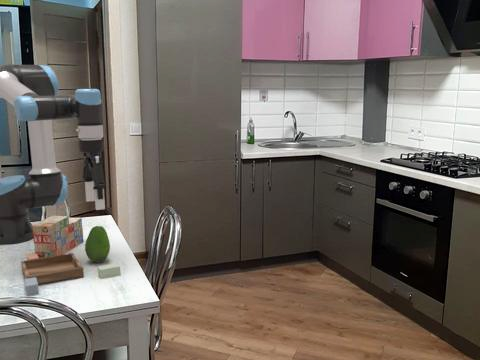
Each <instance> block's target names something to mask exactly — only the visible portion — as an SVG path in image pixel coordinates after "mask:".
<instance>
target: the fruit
mask: <svg viewBox="0 0 480 360" xmlns="http://www.w3.org/2000/svg"><path fill="white" fill-rule="evenodd" d="M85 240H86V241H85V244H84V247H85V248H84V251H85V253H86V256H87V257H88V259H89V260H90V261H91V262H93V263H98V264H99V263H101V262H103V261H105V260H106V259H107V258H108V256H109V254H110V250H111V245H110V244H111V243H110V239H109V236H108V233H107V229H105V227H104V226H101V225H96V226H94V227H92V228H91V229H90V230H89V233H88V235H87V238H86V239H85Z"/></svg>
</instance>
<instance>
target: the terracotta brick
mask: <svg viewBox="0 0 480 360" xmlns="http://www.w3.org/2000/svg"><path fill="white" fill-rule="evenodd" d="M25 255H26V260H32V259H38V258H39V257H38V255H37V253H35V252H33V253H32V252H31V253H26V254H25Z"/></svg>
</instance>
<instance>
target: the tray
mask: <svg viewBox="0 0 480 360" xmlns="http://www.w3.org/2000/svg"><path fill="white" fill-rule="evenodd" d="M20 263H21V272H22V276H23V278H24V280H25V279H28V278H34V277H36V279H37V283H38V287H39V286H43V285H45V286H46V285H48V284H56V283H60V282H66V281H70V280H71V281H72V280H76V279H82V278H84V277H85V275H84V266H82V264H81V263H80V261H79V260H78V258H77V256H76V255H75V254H74V253H73V252H71V253H70V252H69V253H65V254H63V255H57V256H51V257H45V258H38V259H32V260H27V259H26V260H21V261H20Z"/></svg>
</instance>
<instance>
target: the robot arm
mask: <svg viewBox="0 0 480 360" xmlns="http://www.w3.org/2000/svg"><path fill="white" fill-rule="evenodd" d="M74 92H75V94H69V95H58V93H59V82H58V78H57V75H56V73H55V71H54V70H53V68H52V67H50V66H49V65H41V64H12V63H11V64H4V65H0V99H2V100H3V99H4V100H6V101H7V102H8V103H9V104H10V105H12V107H13V112H14V115H15V117H16V119H17V120H18V121H20V122H21V121H22V122H27V127H28V128H27V129H28V138H29V146H30V147H29V149H30V156H31V157H30V158H31V165H32V168H31V170H30V171H29V172H28V178H26V177H25V175H23V174H20V175H19V174H18V175H10V176H5V177H2V178H1V177H0V245H8V244H9V245H10V244H12V245H13V244H18V243H24V242H27V241H30V240H32V239H33V224H32V222H31V220H30V218H29V210H30V209H36V208H37V209H38V208H42V207H43V208H45V207H49V206H51V207H54V206H56V205H61V204H63V203H64V202H65V200H66V199H67V196H68V193H69V192H68V190H69V185H68V184H69V183H68V179H67V176H66V175H64V174H62V172H61V169H60V168H58V167H57V164H56V163H57V162H56V153H55V142H54V133H53V131H54V130H53V123H52V121H53V120H55V121H56V120H58V121H59V120H76V122H77V123H76V124H77V128H76V129H75V132H77V133H78V136H77V137H78V139H79V140H78V150H79V152H80V153H82V155H83V167H82V168H83V169H82V178H83V181H84V188H85V189H84V190H85V193H84V194H85V202H94V203H95V204H94V205H95V210H96V211H100V210H105V209H106V204H105V203H106V201H105V188H106V186H107V185H106V180H105V174H104V169H103V163H102V162H103V161H102V156H101V155H99V154H98V153H100V152H103V151H104V150H105V143H104V140H105V139H103V138H104V125H103V110H102V102H103V101H102V97H101V91H100V90H99V89H97V88H78V89H76V90H75V91H74Z"/></svg>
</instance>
